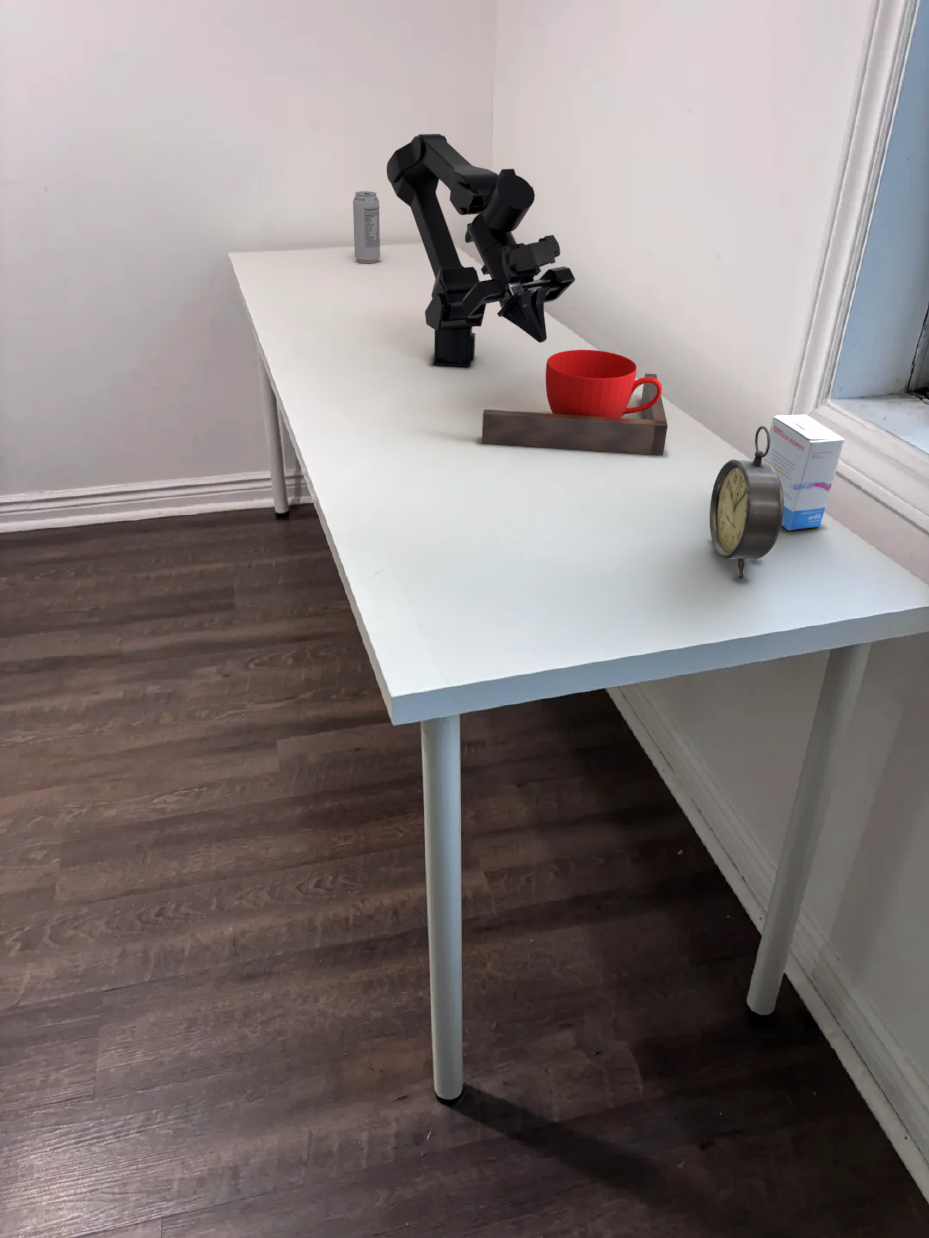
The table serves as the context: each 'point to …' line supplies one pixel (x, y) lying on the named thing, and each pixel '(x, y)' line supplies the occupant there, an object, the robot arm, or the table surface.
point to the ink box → (803, 467)
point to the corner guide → (581, 429)
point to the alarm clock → (746, 508)
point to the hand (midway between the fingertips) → (543, 341)
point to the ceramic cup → (593, 384)
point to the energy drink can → (366, 227)
